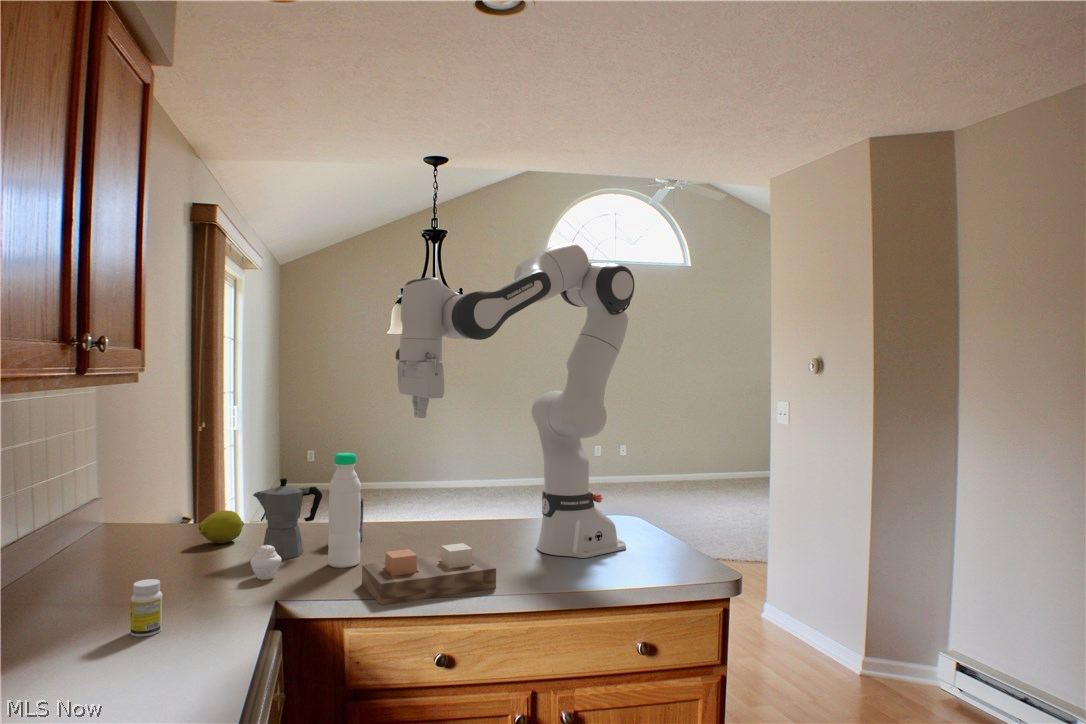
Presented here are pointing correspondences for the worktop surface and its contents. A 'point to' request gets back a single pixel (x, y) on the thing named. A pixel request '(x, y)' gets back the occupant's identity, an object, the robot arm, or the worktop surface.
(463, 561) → the cream key
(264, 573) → the muffin
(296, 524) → the coffeepot
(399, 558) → the terracotta key
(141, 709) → the worktop surface
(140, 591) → the supplement bottle
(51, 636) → the worktop surface
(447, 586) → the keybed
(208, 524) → the lemon
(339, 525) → the water bottle
